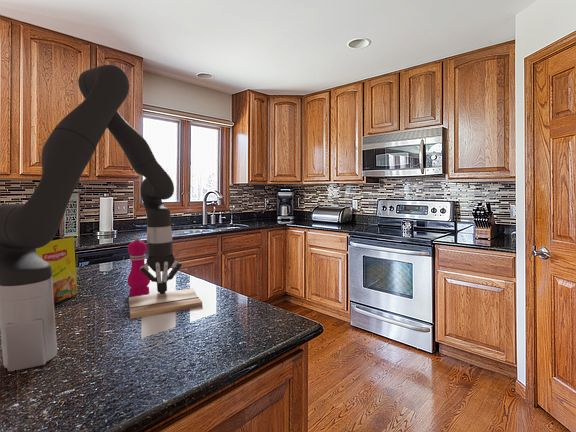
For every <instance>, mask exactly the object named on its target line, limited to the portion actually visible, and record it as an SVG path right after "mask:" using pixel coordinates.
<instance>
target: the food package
mask: <svg viewBox="0 0 576 432" xmlns="http://www.w3.org/2000/svg"><path fill="white" fill-rule="evenodd" d="M75 249H76V248H75V237H74V236H73V237H66V238H62V239H61V238H60V239H55V240H51V241H50V242H49V243H48V244H47V245H45V246H43V247H41V248H36V252H37V254H38V255H39V256H40V257H41V258H42V259H43V260H44V261H46V262H48V263H49V264H50V265H51V268H52V282H53V298H54V304H55V303H58V302H61V301H63V300H65V299H68V298H71V297H73V296H76V295H78V285H77V284H78V283H77V282H78V279H77V267H76V250H75Z"/></svg>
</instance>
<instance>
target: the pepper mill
mask: <svg viewBox="0 0 576 432" xmlns="http://www.w3.org/2000/svg"><path fill="white" fill-rule="evenodd" d="M140 239H141V238H140V236H137V235H135V236H134V237H133V241H131V242H130V243H129V244H128V245H127V251H128V253H129V254H130V255H129V260H130V262H131V266H130V267H131V268H130V271H129V274H128V277H127V281H126V282H127V285H128V287H130V288H129V296H130V297H134V296H141V295H148V294H149V293H150V287H149V284H150V282H151V280H150V279H149V278H148V277H147V276H146V275H145V274H144V273H143V272H142V271H141V270H140V267H141V266H143V265H145V264H146V263H145V260H146V258H147V257H146V254H145V253H146V251H148V248H147V243H146V242H144V241H143V240H140Z"/></svg>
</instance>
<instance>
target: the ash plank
mask: <svg viewBox="0 0 576 432" xmlns="http://www.w3.org/2000/svg"><path fill="white" fill-rule="evenodd" d="M194 297H198V295H197V293H196V291H195V289H194V288H193V287H191V288H185V289H178V290H177V289H176V290H171V291H166V292H165V294H160V292H159V293H158V292H157V293H150V294H149V293H148V294H145V295H141V296H129V297H128V306H129V307H136V306H142V305H148V304H155V303H161V302H168V301H174V300H181V299H187V298H194Z"/></svg>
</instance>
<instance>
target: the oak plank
mask: <svg viewBox="0 0 576 432" xmlns="http://www.w3.org/2000/svg"><path fill="white" fill-rule="evenodd" d="M202 307H203V300H201V298H200V296H197V297H194V298H187V299H181V300H174V301H168V302H161V303H155V304H148V305H142V306H136V307H130V306H129V317H130V319H131V320H132V319H138V318H144V317H149V316H154V315H161V314H167V313H174V312H179V311H185V310H190V309H191V310H192V309H197V308H202Z"/></svg>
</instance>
